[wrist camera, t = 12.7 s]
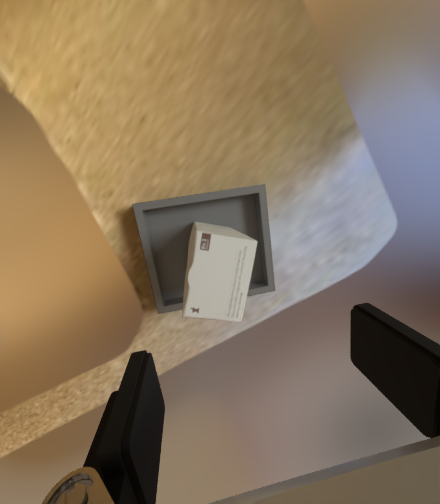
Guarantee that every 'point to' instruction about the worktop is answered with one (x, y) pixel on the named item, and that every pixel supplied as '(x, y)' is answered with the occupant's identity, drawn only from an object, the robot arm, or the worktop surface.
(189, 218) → the tray
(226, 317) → the skincare box
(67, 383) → the worktop surface
